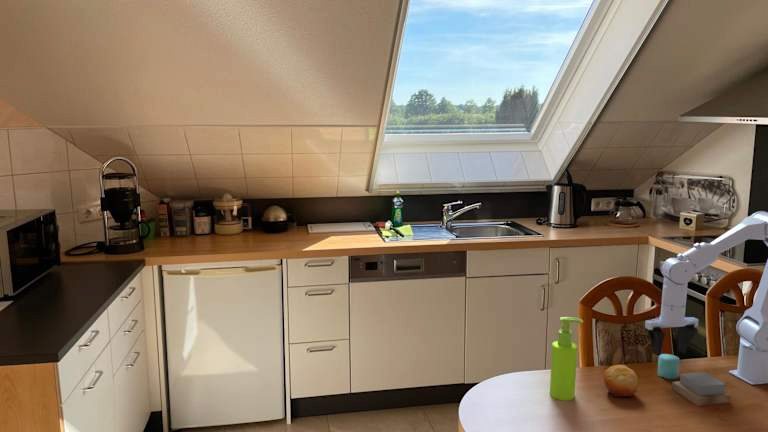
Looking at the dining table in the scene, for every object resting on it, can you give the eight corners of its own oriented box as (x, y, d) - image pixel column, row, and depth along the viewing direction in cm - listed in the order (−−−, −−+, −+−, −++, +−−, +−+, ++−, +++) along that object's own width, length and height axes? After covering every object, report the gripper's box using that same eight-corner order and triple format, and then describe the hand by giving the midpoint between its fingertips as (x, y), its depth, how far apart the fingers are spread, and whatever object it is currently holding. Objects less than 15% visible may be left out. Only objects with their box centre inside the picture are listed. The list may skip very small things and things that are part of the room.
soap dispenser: (580, 401, 143) (584, 323, 140) (550, 399, 145) (554, 321, 141) (577, 391, 149) (581, 315, 146) (549, 388, 150) (552, 313, 147)
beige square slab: (702, 388, 152) (703, 378, 152) (729, 404, 143) (730, 394, 143) (671, 391, 150) (672, 381, 150) (696, 408, 142) (697, 398, 141)
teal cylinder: (669, 370, 161) (671, 353, 160) (682, 378, 156) (683, 360, 156) (653, 372, 160) (654, 354, 159) (665, 380, 155) (667, 362, 155)
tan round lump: (629, 378, 153) (636, 360, 148) (636, 405, 147) (644, 387, 142) (597, 377, 154) (603, 358, 149) (603, 404, 148) (609, 385, 143)
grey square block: (704, 381, 150) (705, 372, 150) (724, 393, 144) (725, 384, 143) (679, 383, 149) (680, 373, 149) (698, 395, 142) (699, 386, 142)
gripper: (687, 297, 160) (682, 345, 163) (639, 301, 158) (635, 349, 160) (706, 305, 154) (701, 355, 156) (656, 309, 151) (652, 359, 153)
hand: (669, 353), depth 157 cm, fingers open, 7 cm apart
